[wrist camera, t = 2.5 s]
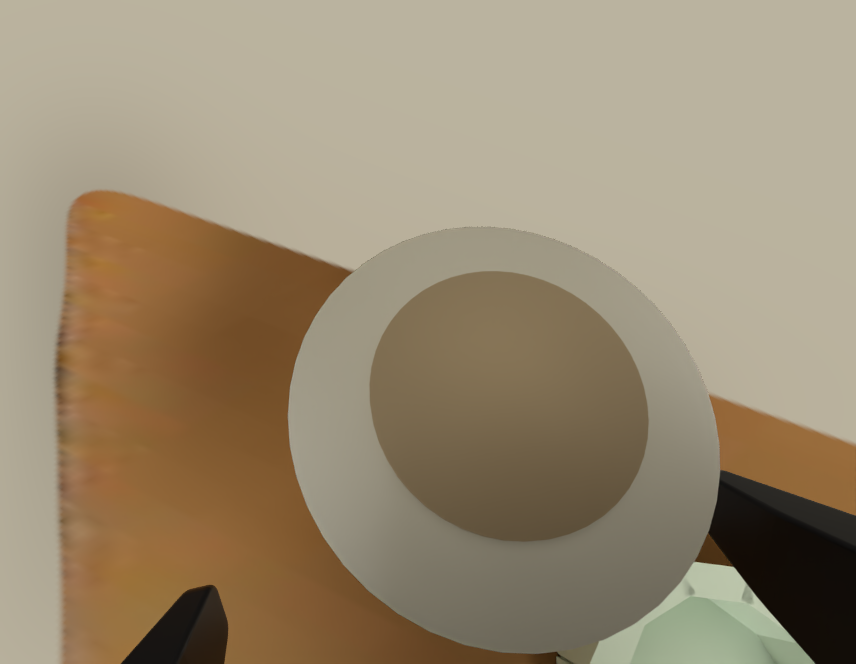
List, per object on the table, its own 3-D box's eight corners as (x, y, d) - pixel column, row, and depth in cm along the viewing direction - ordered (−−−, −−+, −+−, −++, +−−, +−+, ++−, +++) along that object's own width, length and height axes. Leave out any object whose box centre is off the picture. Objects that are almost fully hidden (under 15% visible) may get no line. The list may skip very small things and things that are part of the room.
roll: (440, 609, 15) (619, 821, 3) (335, 517, 16) (181, 424, 4) (512, 489, 17) (779, 353, 5) (414, 416, 18) (455, 168, 6)
